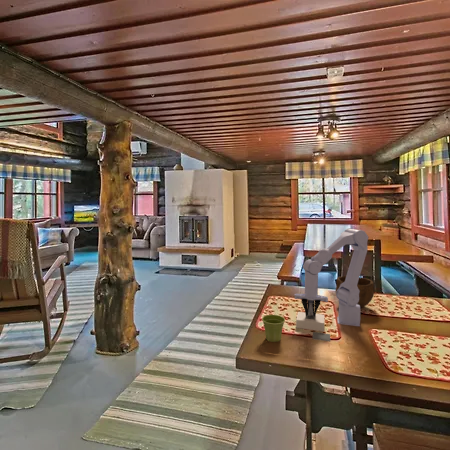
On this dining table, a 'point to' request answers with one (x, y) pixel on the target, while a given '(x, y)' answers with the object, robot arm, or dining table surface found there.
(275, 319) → the plant pot
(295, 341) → the dining table surface
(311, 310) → the steel pin
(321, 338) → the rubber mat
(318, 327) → the block
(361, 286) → the bowl
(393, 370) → the dining table surface
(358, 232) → the robot arm
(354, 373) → the dining table surface
